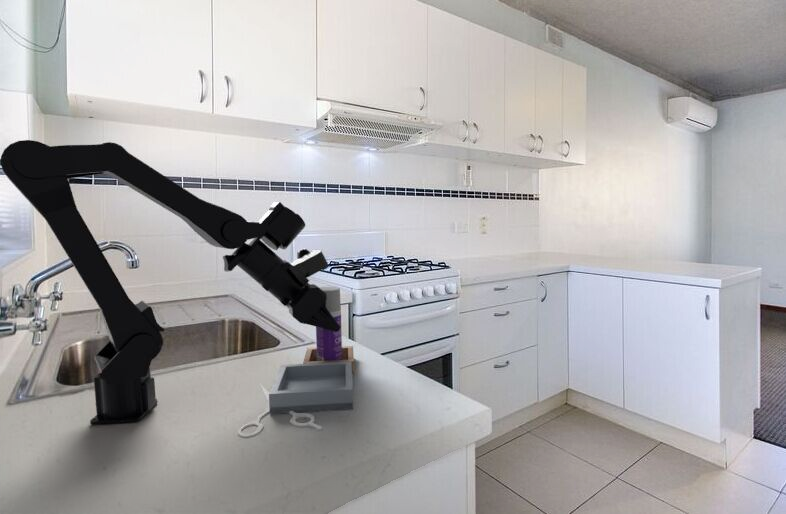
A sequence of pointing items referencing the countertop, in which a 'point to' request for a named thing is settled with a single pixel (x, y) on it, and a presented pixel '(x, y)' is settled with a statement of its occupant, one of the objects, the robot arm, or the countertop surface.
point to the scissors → (256, 422)
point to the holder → (346, 357)
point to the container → (326, 339)
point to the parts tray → (312, 388)
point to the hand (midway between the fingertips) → (331, 323)
